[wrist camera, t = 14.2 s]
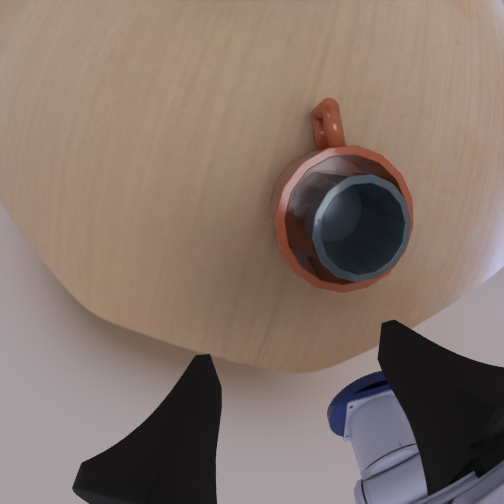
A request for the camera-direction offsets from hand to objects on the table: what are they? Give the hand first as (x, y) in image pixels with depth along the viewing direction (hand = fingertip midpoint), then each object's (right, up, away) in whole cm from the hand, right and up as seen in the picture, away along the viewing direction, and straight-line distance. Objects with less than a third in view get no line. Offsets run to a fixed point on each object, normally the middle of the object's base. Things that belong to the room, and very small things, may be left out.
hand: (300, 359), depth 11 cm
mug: (+3, +9, +8) cm, 12 cm away
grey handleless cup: (+3, +7, +8) cm, 11 cm away
